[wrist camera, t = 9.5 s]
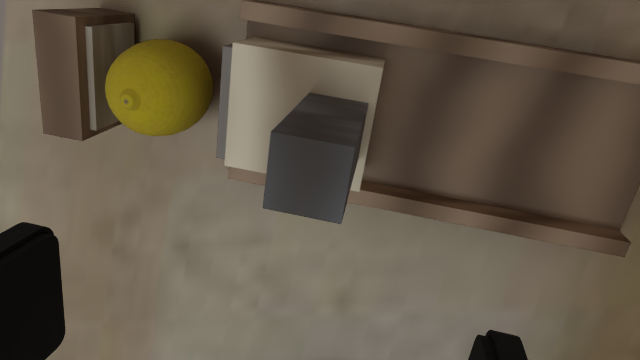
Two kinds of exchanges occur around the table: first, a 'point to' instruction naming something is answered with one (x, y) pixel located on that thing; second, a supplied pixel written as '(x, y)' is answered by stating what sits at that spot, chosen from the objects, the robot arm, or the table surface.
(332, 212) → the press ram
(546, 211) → the press bed
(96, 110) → the open brown box
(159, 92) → the lemon
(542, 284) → the table surface
